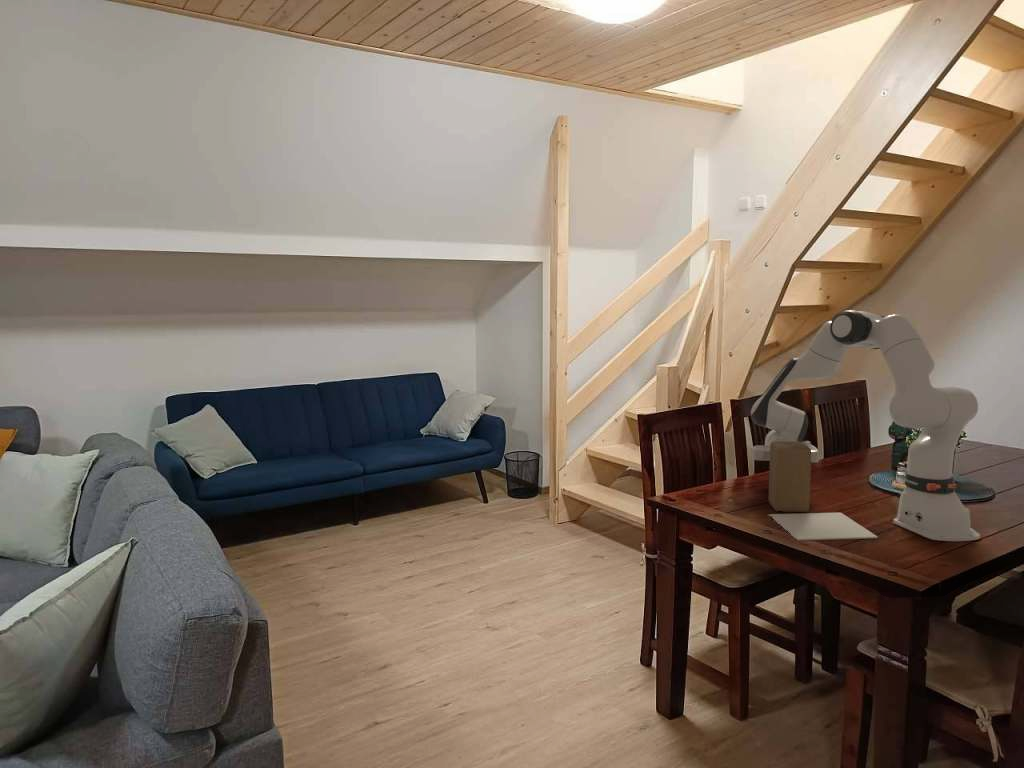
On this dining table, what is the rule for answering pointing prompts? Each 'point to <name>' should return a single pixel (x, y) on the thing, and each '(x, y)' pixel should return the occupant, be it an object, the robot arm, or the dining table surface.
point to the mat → (821, 526)
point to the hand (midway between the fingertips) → (787, 459)
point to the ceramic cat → (899, 443)
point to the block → (789, 476)
